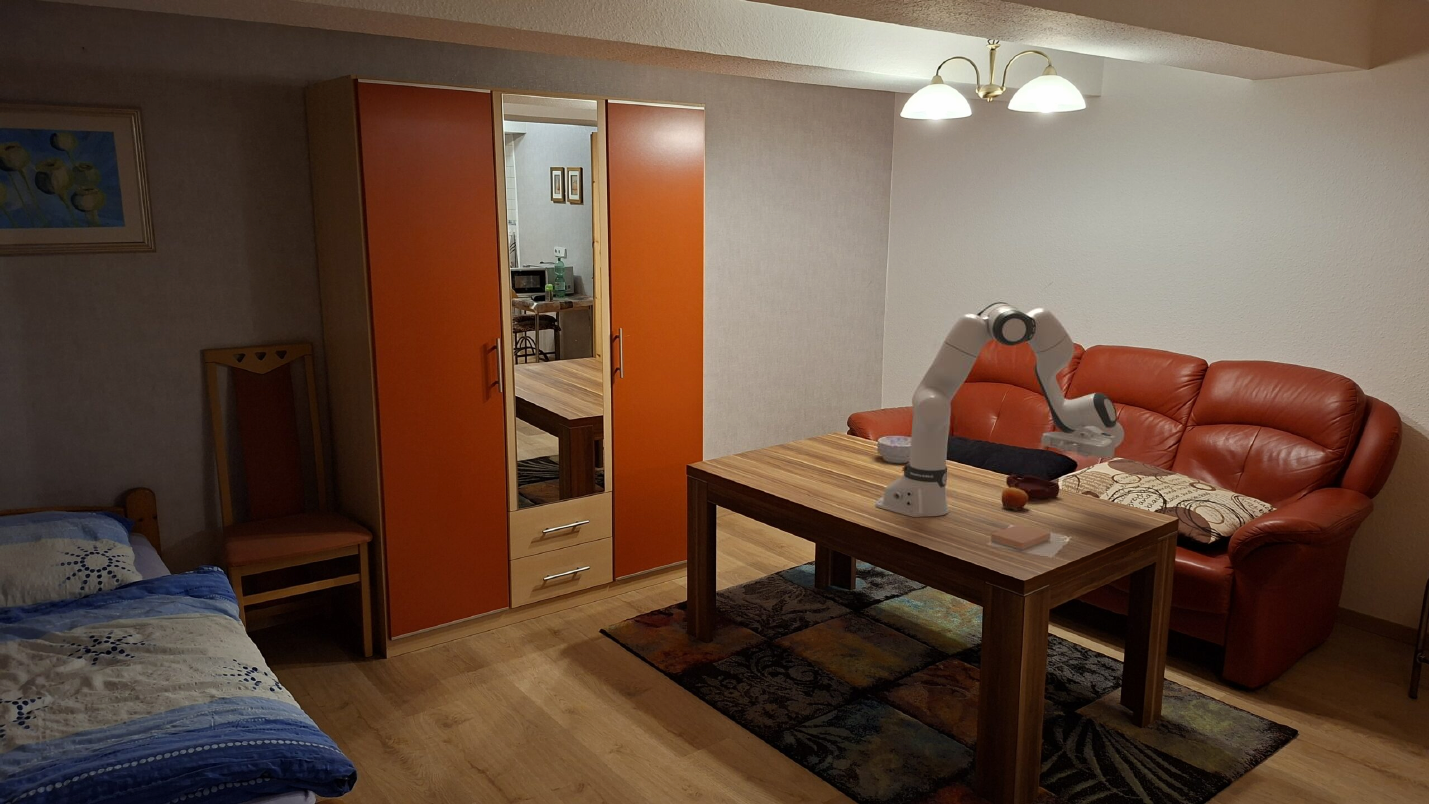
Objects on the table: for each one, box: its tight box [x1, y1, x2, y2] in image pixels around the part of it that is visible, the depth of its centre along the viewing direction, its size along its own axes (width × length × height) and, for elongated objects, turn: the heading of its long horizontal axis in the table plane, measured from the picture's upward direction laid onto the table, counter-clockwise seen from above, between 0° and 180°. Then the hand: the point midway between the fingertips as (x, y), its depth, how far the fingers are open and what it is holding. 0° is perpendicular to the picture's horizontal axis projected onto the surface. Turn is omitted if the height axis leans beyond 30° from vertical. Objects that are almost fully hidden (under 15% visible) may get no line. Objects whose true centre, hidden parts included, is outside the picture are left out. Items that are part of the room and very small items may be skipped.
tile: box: [990, 523, 1052, 552], centre depth 270 cm, size 2×10×14 cm
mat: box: [986, 524, 1070, 559], centre depth 271 cm, size 18×21×1 cm
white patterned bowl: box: [877, 435, 911, 464], centre depth 358 cm, size 15×15×8 cm
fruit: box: [1001, 487, 1029, 512], centre depth 300 cm, size 8×8×8 cm
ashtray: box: [1005, 474, 1060, 501], centre depth 315 cm, size 18×16×5 cm
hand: (1062, 448), depth 277 cm, fingers closed
